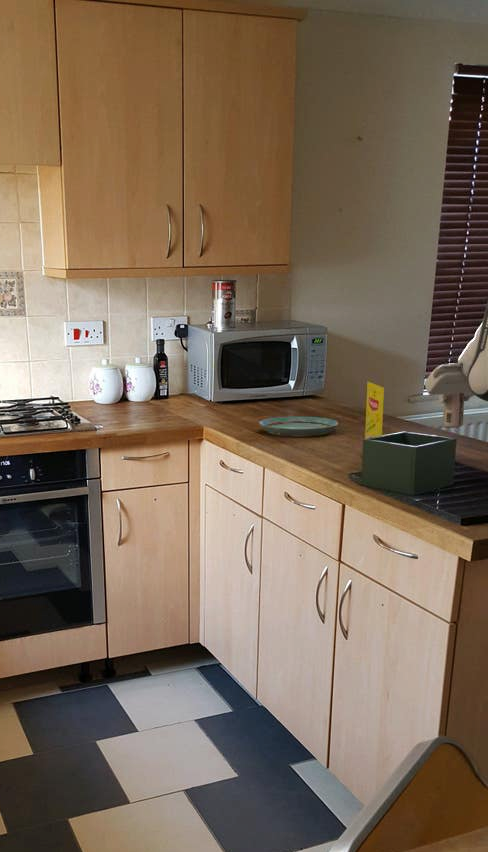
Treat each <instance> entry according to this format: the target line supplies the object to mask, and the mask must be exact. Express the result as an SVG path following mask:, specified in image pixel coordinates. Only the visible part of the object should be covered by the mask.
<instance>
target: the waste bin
mask: <svg viewBox="0 0 488 852" xmlns="http://www.w3.org/2000/svg"><path fill="white" fill-rule="evenodd" d="M457 440H458V438H456V437H450V436H449V437H448V436H443V435H435V434H426V433H418V432H411V431H404V430H403V431H398V432H394V433H389V434H384V435H383V434H382V436H378V437H373V438H368V439H365V438H364V439H362V454H361V455H362V457H361V477H360V478H361V480H360V482H361V483H360V485H361V486H364V487H368V488H375V489H378V490H383V491H388V492H389V491H390V492H395V493H400V494H405V495H410V496H417V495H420V494H424V493H427V492H431V491H435V490H438V489H439V490H440V489H443V488H447V487H450V486H453V485H454V482H455V481H454V480H455V467H456V453H457V442H458V441H457Z"/></svg>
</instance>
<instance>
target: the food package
mask: <svg viewBox="0 0 488 852" xmlns="http://www.w3.org/2000/svg"><path fill="white" fill-rule="evenodd" d="M384 399H385V388H384V387H383V386H380V385H378V384H375V383H373V382H370V381H367V384H366V406H365V407H366V409H365V428H364V429H365V431H364V439H368V438H373V437H378V436H383V422H384V421H383V418H384Z"/></svg>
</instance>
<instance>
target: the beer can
mask: <svg viewBox="0 0 488 852" xmlns="http://www.w3.org/2000/svg"><path fill="white" fill-rule="evenodd" d="M447 396H448V398H449V399H448V401H447V402H446V403H443V412H442V413H443V415H442V426H443V427H445V428H449V429H458V428H461V427H462V426H463V425H464V414H465V413H464V412H465V401H464V398H465V393H453V394H448V395H447Z"/></svg>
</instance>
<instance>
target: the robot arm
mask: <svg viewBox="0 0 488 852" xmlns="http://www.w3.org/2000/svg"><path fill="white" fill-rule="evenodd" d="M424 387H425V390H426V392H427V393H428V395H429V396H438V395H439V396H438V401H439V403H440V404H444V403H446V402H447V401H448V399H449V398H448V396H447V395H448V394H453V393H465V398H464V402H469V400H470V399H471V398H472V397H474V396H476V397H477V398H479V399H480V400H482V401H485V402H488V301H487V302H486V307H485V310H484V315H483V319H482V322H481V324H480V326H479V327H478V328H477V330H476V332H475V334H474V337H473V339H471V340H470V341H469V342H468V343H467V346H466V347H465V348H464V350H463V351H462V353H461V354H460V356H459V357H458V359H457V362H454V363H444V364H440V365H438V366H436V368H434V369H433V370H432V371H431V373H430V374H429V375H428V377H427V378H426V380H425V381H424Z"/></svg>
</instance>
